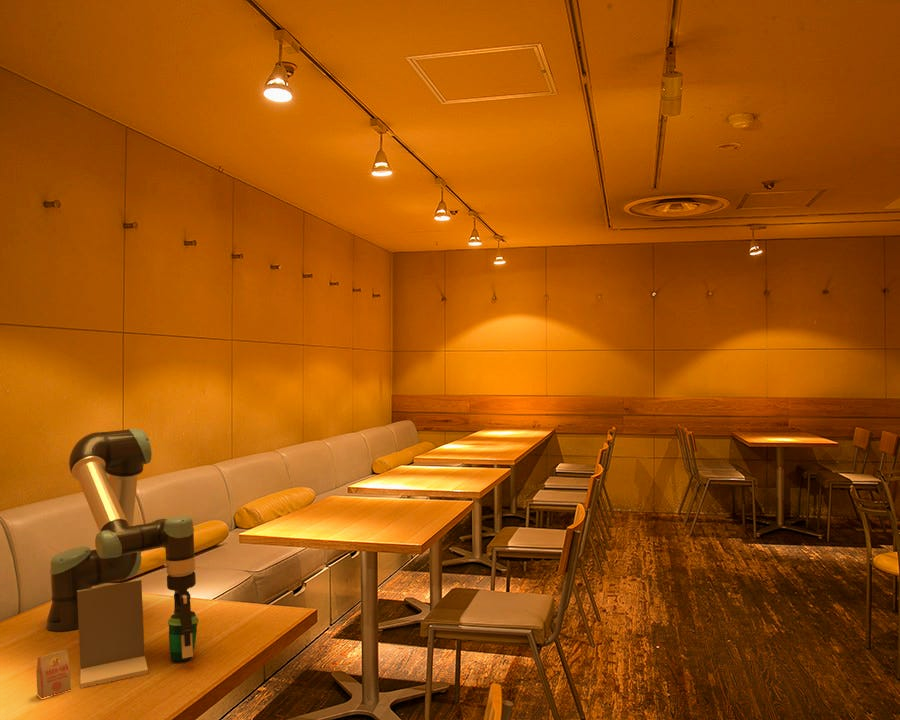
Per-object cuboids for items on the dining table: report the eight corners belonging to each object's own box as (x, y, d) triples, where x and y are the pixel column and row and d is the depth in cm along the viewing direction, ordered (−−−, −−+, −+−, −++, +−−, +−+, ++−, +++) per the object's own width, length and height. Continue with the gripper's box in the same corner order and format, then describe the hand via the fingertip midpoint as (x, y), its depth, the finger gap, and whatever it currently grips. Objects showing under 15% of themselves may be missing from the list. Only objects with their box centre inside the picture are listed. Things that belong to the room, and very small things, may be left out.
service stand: (80, 670, 198) (77, 590, 198) (144, 657, 205) (140, 579, 205) (80, 688, 187) (77, 602, 187) (148, 673, 194) (144, 591, 194)
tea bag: (37, 695, 184) (35, 655, 184) (66, 686, 189) (64, 647, 189) (41, 699, 181) (39, 659, 181) (70, 690, 186) (69, 651, 186)
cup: (163, 660, 203) (161, 617, 203) (188, 649, 210) (186, 608, 210) (180, 666, 198) (179, 622, 198) (206, 655, 205) (204, 612, 205)
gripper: (162, 565, 213) (165, 637, 213) (171, 586, 191) (175, 667, 191) (189, 560, 217) (192, 632, 217) (201, 581, 195) (205, 661, 195)
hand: (184, 648), depth 204 cm, fingers open, 13 cm apart
